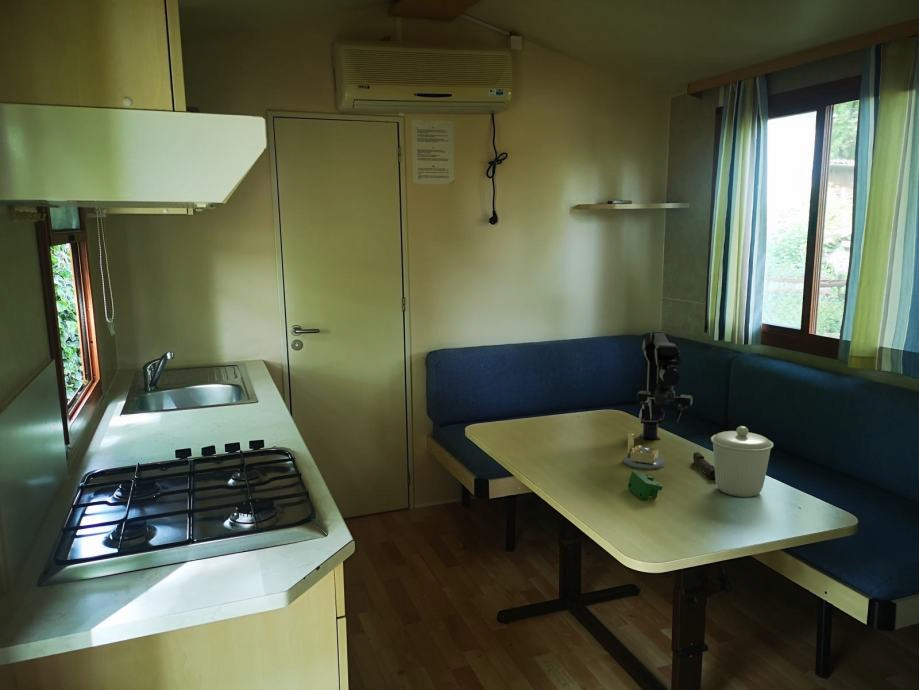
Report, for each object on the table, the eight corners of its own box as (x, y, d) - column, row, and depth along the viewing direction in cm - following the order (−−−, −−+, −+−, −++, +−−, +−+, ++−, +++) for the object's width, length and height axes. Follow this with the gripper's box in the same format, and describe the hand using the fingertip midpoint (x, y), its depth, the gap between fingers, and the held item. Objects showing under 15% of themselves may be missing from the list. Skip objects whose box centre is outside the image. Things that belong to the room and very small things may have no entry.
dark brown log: (721, 481, 230) (722, 468, 229) (709, 481, 230) (709, 467, 229) (701, 463, 249) (702, 450, 248) (690, 463, 249) (691, 450, 248)
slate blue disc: (629, 454, 257) (629, 440, 256) (668, 460, 251) (668, 445, 250) (619, 466, 245) (620, 450, 244) (660, 472, 239) (661, 456, 238)
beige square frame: (630, 453, 254) (630, 430, 253) (658, 457, 249) (659, 434, 248) (624, 459, 247) (625, 436, 246) (653, 464, 242) (654, 440, 241)
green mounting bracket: (653, 512, 215) (666, 490, 211) (635, 508, 214) (648, 487, 210) (643, 485, 226) (654, 464, 221) (626, 481, 225) (637, 460, 220)
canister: (740, 478, 232) (744, 416, 229) (783, 497, 215) (788, 431, 212) (695, 485, 226) (699, 422, 222) (736, 505, 209) (740, 437, 206)
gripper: (634, 381, 246) (632, 424, 249) (689, 386, 238) (687, 430, 241) (640, 375, 256) (638, 416, 258) (693, 379, 248) (691, 422, 251)
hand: (663, 421), depth 252 cm, fingers open, 9 cm apart
